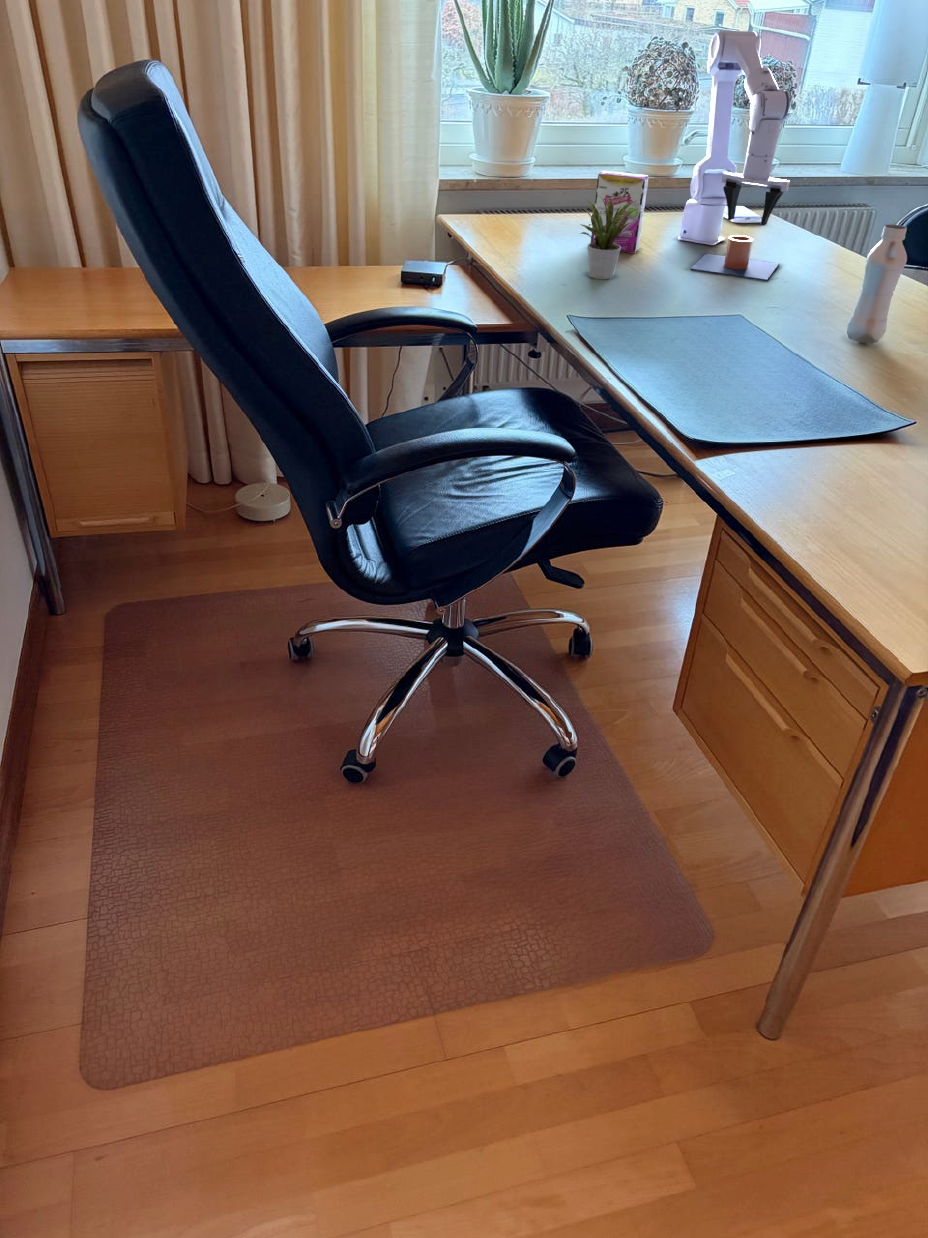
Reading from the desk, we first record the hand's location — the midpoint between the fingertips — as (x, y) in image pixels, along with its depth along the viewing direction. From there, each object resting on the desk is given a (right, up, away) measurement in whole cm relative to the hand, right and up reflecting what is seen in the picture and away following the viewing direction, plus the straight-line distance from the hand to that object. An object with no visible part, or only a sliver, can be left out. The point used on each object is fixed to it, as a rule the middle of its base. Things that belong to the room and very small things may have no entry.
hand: (747, 221), depth 205 cm
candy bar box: (-27, 0, +14) cm, 31 cm away
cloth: (-2, -9, +4) cm, 10 cm away
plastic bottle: (+10, -38, -36) cm, 53 cm away
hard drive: (+12, +21, +45) cm, 51 cm away
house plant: (-32, -14, -4) cm, 35 cm away
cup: (-2, -9, +4) cm, 9 cm away
